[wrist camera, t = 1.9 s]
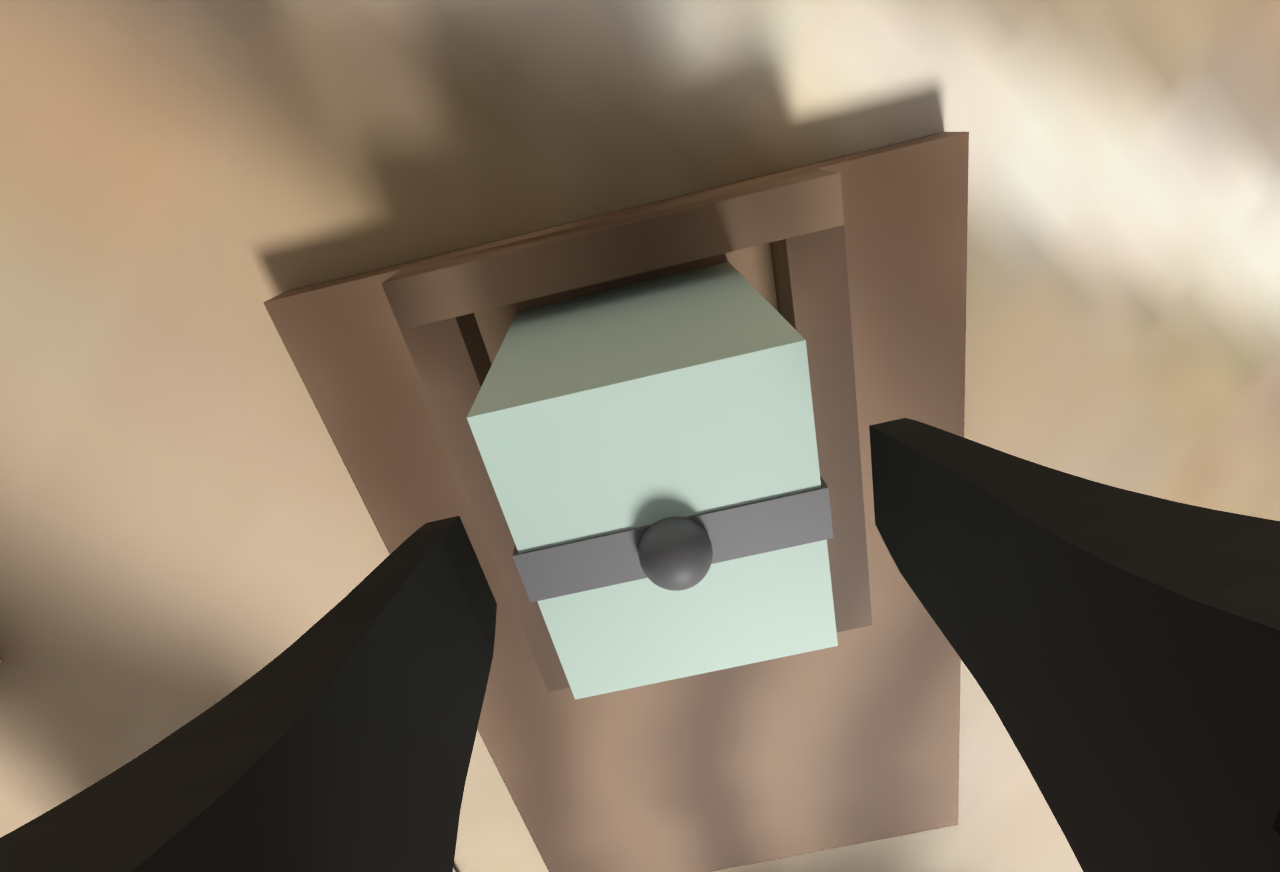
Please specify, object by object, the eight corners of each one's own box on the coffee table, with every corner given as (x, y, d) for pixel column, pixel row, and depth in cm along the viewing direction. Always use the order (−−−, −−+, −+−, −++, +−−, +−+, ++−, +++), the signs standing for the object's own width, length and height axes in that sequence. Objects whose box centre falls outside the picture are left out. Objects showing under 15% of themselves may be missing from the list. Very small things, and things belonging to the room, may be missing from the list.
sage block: (580, 520, 17) (567, 737, 11) (513, 311, 14) (448, 444, 8) (765, 479, 17) (859, 679, 11) (731, 260, 14) (831, 356, 8)
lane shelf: (564, 872, 26) (560, 942, 24) (283, 292, 15) (227, 320, 13) (945, 800, 25) (978, 865, 23) (945, 131, 14) (1009, 132, 12)
